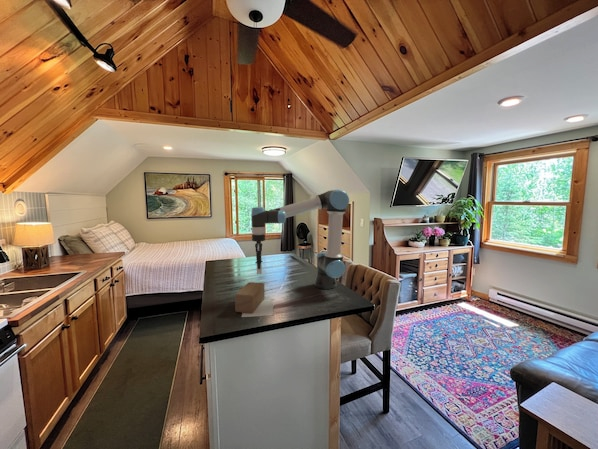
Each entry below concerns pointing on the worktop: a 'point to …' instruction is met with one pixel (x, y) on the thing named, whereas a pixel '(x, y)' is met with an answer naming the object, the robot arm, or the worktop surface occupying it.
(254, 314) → the mat
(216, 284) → the worktop surface
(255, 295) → the wooden block
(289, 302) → the worktop surface
